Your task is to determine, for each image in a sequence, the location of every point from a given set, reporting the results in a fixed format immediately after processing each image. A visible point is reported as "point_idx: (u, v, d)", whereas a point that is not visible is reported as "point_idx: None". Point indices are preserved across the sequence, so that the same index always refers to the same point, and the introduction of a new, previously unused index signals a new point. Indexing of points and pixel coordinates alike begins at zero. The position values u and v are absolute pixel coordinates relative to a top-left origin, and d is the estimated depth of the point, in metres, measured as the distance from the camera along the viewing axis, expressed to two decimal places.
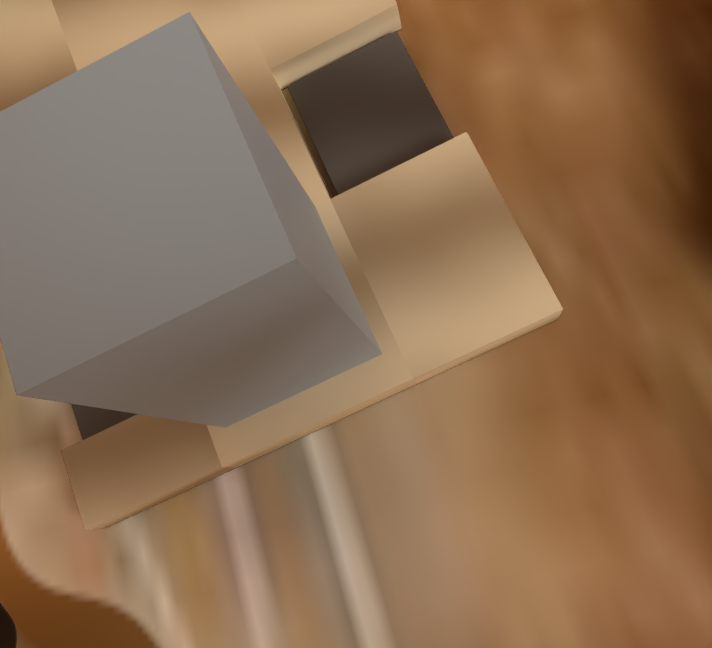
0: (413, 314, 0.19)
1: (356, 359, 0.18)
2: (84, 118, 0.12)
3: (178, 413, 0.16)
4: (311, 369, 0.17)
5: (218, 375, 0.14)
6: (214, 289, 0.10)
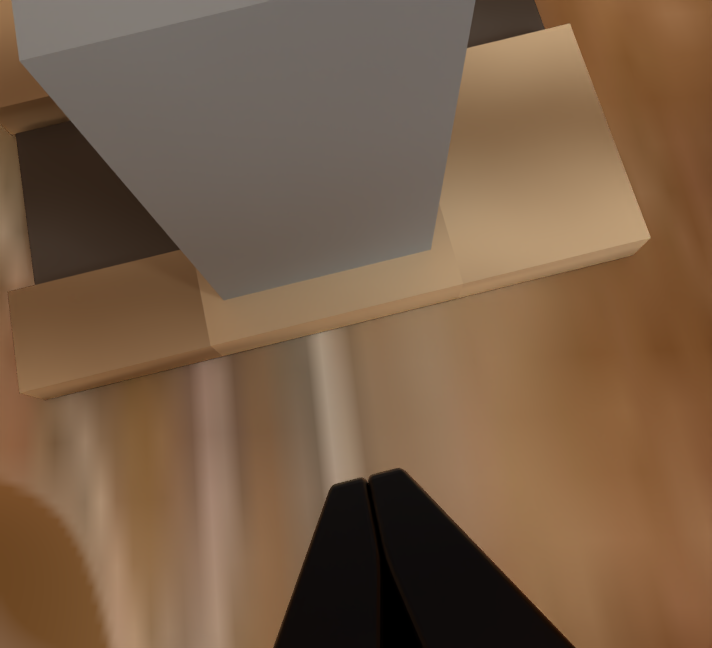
0: (475, 211, 0.16)
1: (404, 244, 0.15)
2: None
3: (191, 240, 0.12)
4: (357, 235, 0.14)
5: (268, 182, 0.11)
6: None
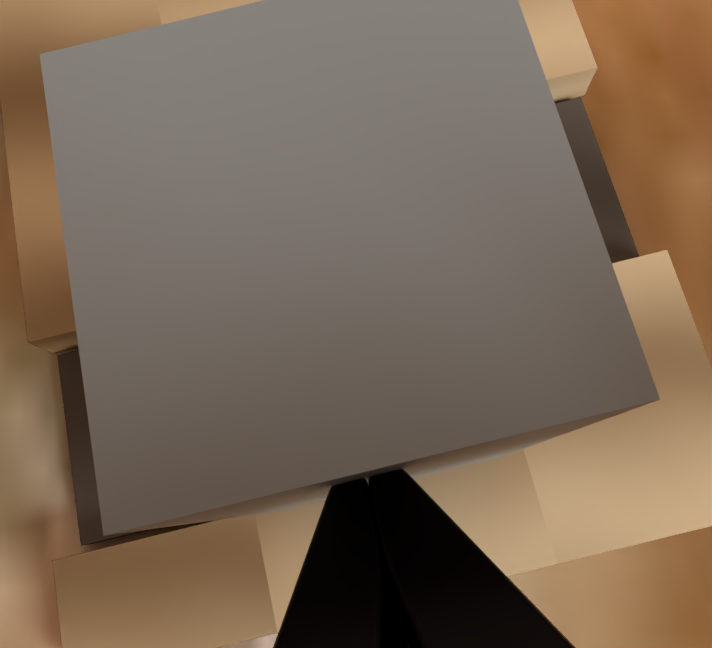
0: (569, 475, 0.14)
1: (476, 461, 0.14)
2: (296, 72, 0.07)
3: (256, 512, 0.11)
4: (430, 472, 0.13)
5: None
6: (503, 422, 0.06)
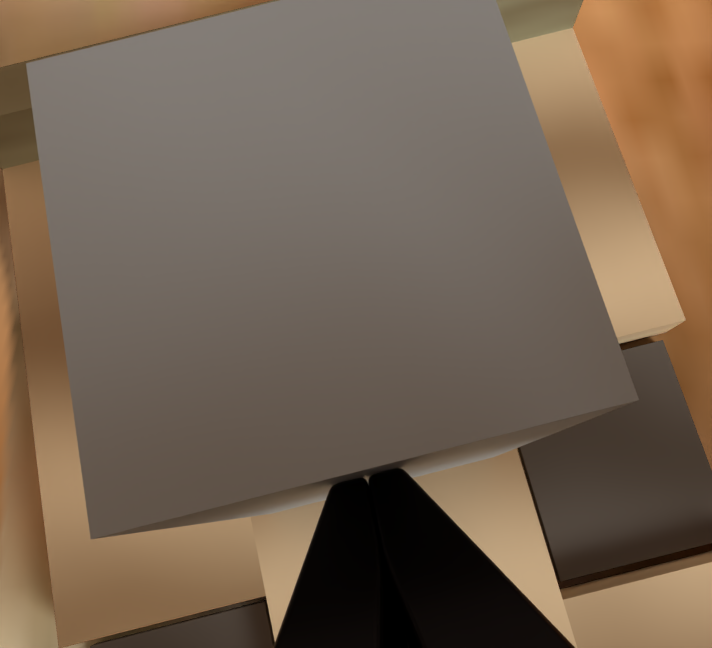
0: None
1: (468, 462, 0.14)
2: (279, 79, 0.07)
3: (248, 514, 0.11)
4: (422, 473, 0.13)
5: None
6: (485, 422, 0.06)
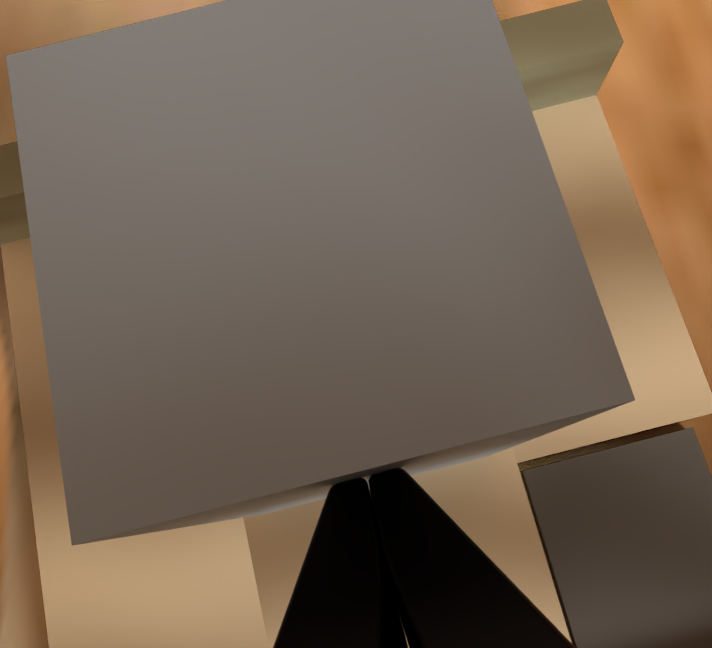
0: None
1: (463, 461, 0.14)
2: (266, 72, 0.07)
3: (240, 516, 0.11)
4: (416, 472, 0.13)
5: None
6: (477, 425, 0.06)
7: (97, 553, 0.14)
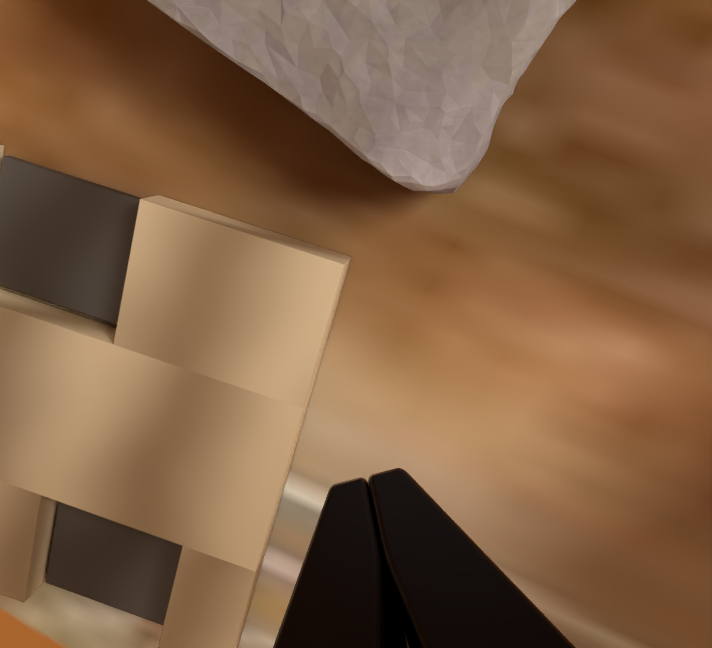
0: (255, 366, 0.20)
1: None
2: None
3: None
4: None
5: None
6: None
7: None
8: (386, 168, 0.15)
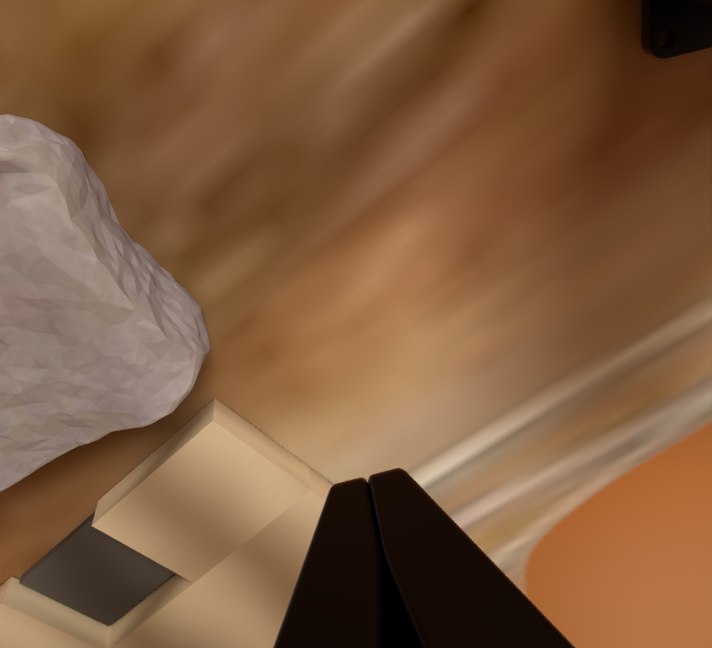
0: (261, 506, 0.23)
1: None
2: None
3: None
4: None
5: None
6: None
7: None
8: (158, 416, 0.19)
